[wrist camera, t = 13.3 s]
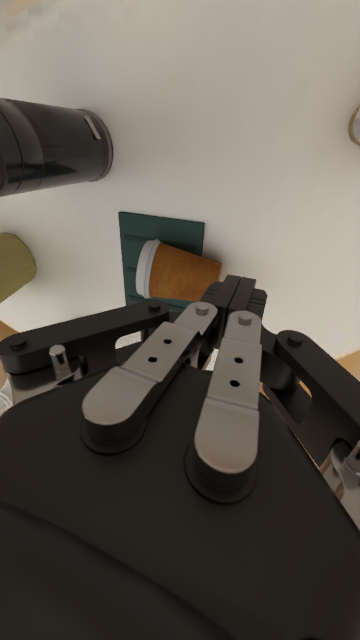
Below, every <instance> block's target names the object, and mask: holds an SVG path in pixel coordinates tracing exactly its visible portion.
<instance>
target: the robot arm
mask: <svg viewBox="0 0 360 640" xmlns="http://www.w3.org/2000/svg"><path fill="white" fill-rule="evenodd" d="M112 157H113V149H112V142H111V138H110V135H109V133H108V131H107V129H106V127H105V125H104V124H103V122H102V121H101V120H100V119H99V118H98V117H97V116H96V115H95V114H93V113H92V112H90V111H87V110H82V109H70V108H64V107H58V106H51V105H44V104H38V103H31V102H24V101H18V100H11V99H4V98H0V197H2V196H7V195H13V194H19V193H25V192H30V191H36V190H41V189H47V188H53V187H59V186H64V185H70V184H76V183H82V182H92V181H97V180H100V179H102V178H103V177H104V176H105V175H106V174H107V173H108V171H109V169H110V167H111V163H112ZM255 284H256V279H251V278H246V277H242V279H241V277H240V276H234V275H229V274H228V275H227V276H226V278H225V280H224V282H218V281H216V282H214V283H212V284H210V285H209V287H208V288H207V290H206V291H205V293H204V294H203V296H202V297H201V299H200V300H199V302H194V303H191V304H190V305H188V307H187V308H186V309H185V310H184V311H183V312H176V311H170V306H169V305H168V304H167V303H166V302H164V301H161V300H148V301H144V302H140V303H136V304H132V305H128V306H124V307H121V308H117V309H113V310H109V311H105V312H101V313H97V314H93V315H89V316H85V317H81V318H77V319H73V320H69V321H65V322H61V323H57V324H53V325H49V326H45V327H41V328H37V329H33V330H29V331H25V332H21V333H17V334H14V335H11V336H9V337H7V338H5V339H4V340H2V341H1V342H0V359H1V361H2V364H3V369H4V372H5V374H6V376H7V379H8V381H9V383H10V385H11V389H12V396H13V404H14V406H12V407H11V408H10V409H8V410H7V411H6V412H4V413H3V414H2V415H1V417H0V640H360V382H359V381H358V380H357V379H356V378H355V377H354V376H353V375H351V374H350V373H349V372H348V371H347V370H346V369H344V368H343V367H342V366H341V365H340V364H339V363H338V362H337V361H335V360H334V359H333V358H332V357H331V356H330V355H329V354H327V353H326V352H325V351H324V350H323V349H322V348H321V347H319V346H318V345H317V344H316V343H315V342H314V341H313V340H311V339H310V338H309V337H308V336H306V335H305V334H303V333H300V332H297V331H292V330H284V331H281V332H279V333H278V334H277V335H276V334H273V333H271V332H270V331H268V330H267V329H265V328H264V326H263V325H262V317H263V313H264V308H265V304H266V299H267V294H266V292H265V291H264V290H260V289H255ZM138 331H141V341H140V342H137V343H134V344H131V345H128V346H125V347H121V348H118V349H115V343H116V341H117V340H118V339H119V338H120V337H122V336H125V335H129V334H132V333H135V332H138ZM214 348H216V349H219V351H218V355H217V358H216V362H215V366H214V370H213V371H209V370H205V369H206V367H207V366H208V364H209V362H210V360H211V356H212V352H213V351H214ZM300 380H301V381H302V382H303V383H304V384H305V385H306V386H307V388H308V389H309V390H310V392H311V395H312V398H311V396H310V395H309V394H308V393H307V392H306V391H305V390H304V389H303V388H302V386H301V385H300V384H299V382H300ZM260 382H262V383H263V384H262V388H263V391H264V392H265V394H266V395H267V397H268V398H269V399H270V400H268V399H267V398H266V397H265V396H264V395H263V394H262V393H260V392H259V385H260ZM290 428H291V429H290ZM293 432H294V433H293ZM295 435H296V436H295ZM297 438H298V439H299V440H298V439H297ZM299 441H300V442H301V443H302V444H303V446H304V448H305V449H306V450H307V452H308V453H309V454H310V456H311V457H312V458H313V460H314V461H315V463H316V464H317V465H318V467H319V470H318V468H317V467H316V465H315V464H314V462H313V461H312V459H311V458H310V456H309V455H308V454H307V452H306V451H305V449H304V448H303V446H302V445H301V443H300V442H299Z"/></svg>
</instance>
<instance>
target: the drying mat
mask: <svg viewBox="0 0 360 640" xmlns="http://www.w3.org/2000/svg"><path fill="white" fill-rule="evenodd" d="M118 214H119V226H120V238H121V250H122V262H123V275H124V287H125V299H126V306H128V305H132V304H136V303H140V302H144V301H148V300H161V301H164V302H166V303H167V304H168V305H169V306H170V311H176V312H183V311H184V310H185V309H186V308H187V307H188V305H190V304H191V303H194V302H198V301H188V300H179V299H168V298H158V297H152V298H148V299H146V298H144V296H142V295H140V294H138V293H137V290H136V273H137V266H138V261H139V257H140V254H141V251H142V248H143V246H144V244H145V243H146V242H147V241H154V240H155V239H158V240H159V241H161V242H163V244H166V245H169V246H172V247H175V248H178V249H181V250H183V251H187V252H189V253H192V254H195V255H198V256H201V257H202V247H203V236H204V224H205V223H201V222H194V221H186V220H179V219H171V218H164V217H156V216H149V215H141V214H134V213H126V212H118Z"/></svg>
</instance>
